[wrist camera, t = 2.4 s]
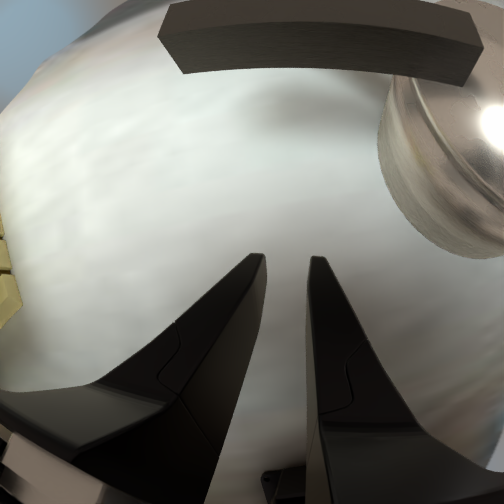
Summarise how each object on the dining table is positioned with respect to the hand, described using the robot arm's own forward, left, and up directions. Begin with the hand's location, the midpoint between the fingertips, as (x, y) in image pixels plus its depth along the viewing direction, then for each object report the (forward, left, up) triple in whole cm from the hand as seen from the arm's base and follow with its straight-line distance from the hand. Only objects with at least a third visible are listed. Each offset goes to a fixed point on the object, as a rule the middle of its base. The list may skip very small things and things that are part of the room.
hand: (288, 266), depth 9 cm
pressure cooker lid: (+8, -10, -4) cm, 13 cm away
